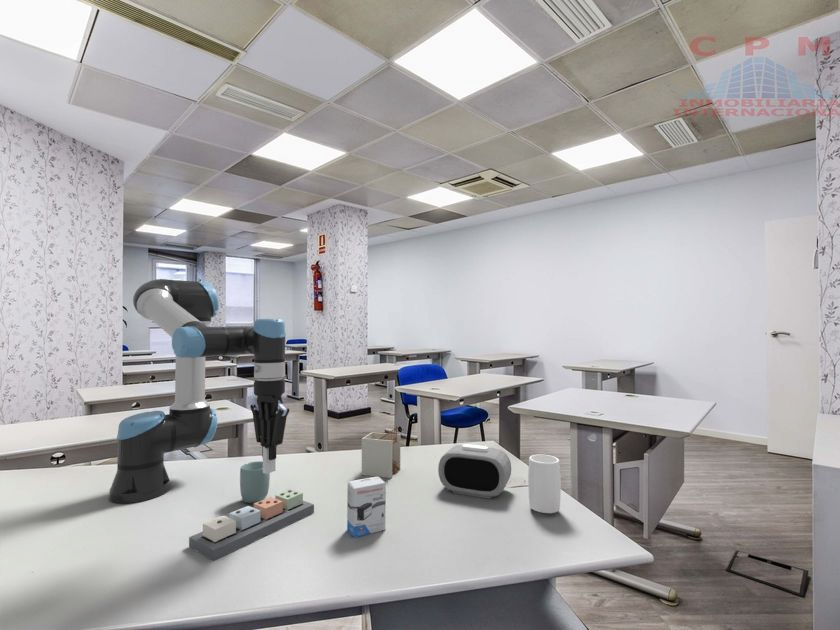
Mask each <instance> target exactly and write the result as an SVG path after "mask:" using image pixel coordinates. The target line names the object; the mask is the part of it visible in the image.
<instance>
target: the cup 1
mask: <svg viewBox="0 0 840 630" xmlns="http://www.w3.org/2000/svg"><path fill="white" fill-rule="evenodd" d="M270 474H271V473H268V474H265V473H263V460H262V461H251V462H250V461H249V462H247V463H244V464H242V465H241V466H240V470H239V490H240V496H241V499H242V501H243V502H244V503H247V504H254V503H256V502H259V501H262V500H264V499H267V496H268V493H269V489H270V478H271V475H270Z"/></svg>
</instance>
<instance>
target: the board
mask: <svg viewBox="0 0 840 630" xmlns="http://www.w3.org/2000/svg"><path fill="white" fill-rule="evenodd" d="M314 513H315V504H314V503H311V502H309V501H306V500H303V503H302V504H300V505H298V506H295V507H293V508H292V509H291V510H290V509H289V511H288V510H286V509H283V512H282V513H279V514H277V515H275V516H273V517H271V519H270V518H269V519H267V520H264V519H263V518H261V517H260V522H259V523H257V524H255V525H252V526H250V527H249V528H247V529H244V531H243V530H242V531H241V530H240V529H238V528H236V533H234V534H232V535H230V536H227V537H225V539H222V540H220V541H217V542H215V543H212V542H214V541H212V540H210V539H208V538H206V537H204V536H203V531H200V532H199V533H198V532H197V533H196V534H193V535H191V536H188V547H189V548H191V549H192V550H194V551H196V552H197V553H199V554H201V555H203V556H205V557H206V558H208V559H210V560H211V561H216V560H218V559H220V558H222V557H224V556H226V555H228V554H230V553H232V552H234V551H236V550H238V549H240V548H243V547H245V546H247V545H249V544H251V543H254V542H256V541H258V540H260V539H262V538H264V537H266V536H269V535H270V534H272V533H274V532H277V531H278V530H280V529H283V528H285V527H287V526H289V525H291V524H293V523H295V522H298V521H299V520H301V519H304V518H306V517H308V516H310V515H312V514H314Z"/></svg>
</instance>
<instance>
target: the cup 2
mask: <svg viewBox="0 0 840 630" xmlns="http://www.w3.org/2000/svg"><path fill="white" fill-rule="evenodd" d="M560 465H561V464H560V459H559V458H557V457H556V456H554V455H549V454H542V453H541V454H539V453H538V454H532V455H530V456H529V459H528V476H527V478H528V480H527V481H528V501H529V508H531V509H532V510H533V511H535V512H537V513H544V514H553V513H554V514H555V513H558V512H559V511H560V508H561V494H562V493H561V491H562V489H561V488H562V487H561V485H562V484H561V482H562V481H561V480H562V478H561V467H560Z"/></svg>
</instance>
